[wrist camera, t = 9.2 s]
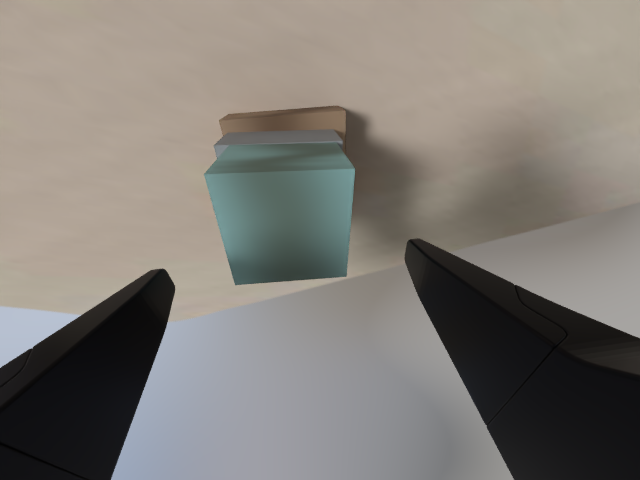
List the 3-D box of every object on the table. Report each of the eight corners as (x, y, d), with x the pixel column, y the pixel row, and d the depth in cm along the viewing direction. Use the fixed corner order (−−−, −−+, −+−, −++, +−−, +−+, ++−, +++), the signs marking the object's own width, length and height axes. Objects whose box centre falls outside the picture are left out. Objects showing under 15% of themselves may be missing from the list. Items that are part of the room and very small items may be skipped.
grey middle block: (333, 129, 14) (342, 140, 11) (331, 219, 17) (338, 242, 15) (227, 132, 13) (213, 145, 11) (247, 224, 17) (240, 250, 14)
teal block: (336, 142, 12) (355, 168, 8) (333, 230, 14) (346, 276, 11) (229, 145, 11) (203, 174, 8) (247, 235, 14) (235, 284, 11)
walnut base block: (336, 104, 16) (345, 110, 13) (338, 200, 20) (345, 218, 17) (229, 113, 16) (219, 120, 13) (253, 209, 20) (248, 229, 17)
